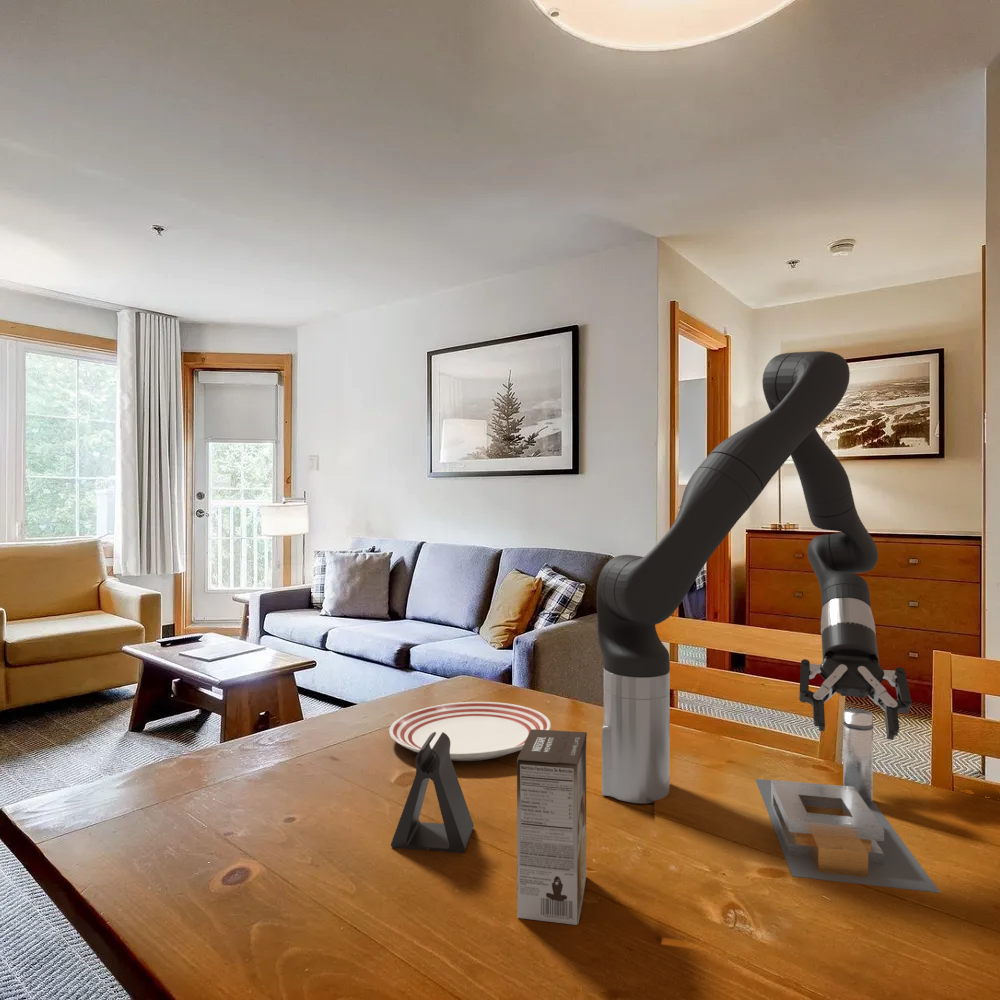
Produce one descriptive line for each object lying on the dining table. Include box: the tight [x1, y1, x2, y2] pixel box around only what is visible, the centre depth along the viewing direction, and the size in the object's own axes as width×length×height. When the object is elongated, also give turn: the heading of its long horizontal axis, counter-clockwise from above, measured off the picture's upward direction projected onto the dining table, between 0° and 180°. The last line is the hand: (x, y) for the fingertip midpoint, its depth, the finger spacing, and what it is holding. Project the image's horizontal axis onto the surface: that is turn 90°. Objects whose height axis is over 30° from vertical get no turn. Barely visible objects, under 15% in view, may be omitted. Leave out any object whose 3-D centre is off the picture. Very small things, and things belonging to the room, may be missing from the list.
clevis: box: [770, 779, 884, 877], centre depth 81 cm, size 10×14×4 cm
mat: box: [755, 778, 941, 894], centre depth 85 cm, size 14×26×1 cm, turn 168°
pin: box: [842, 707, 874, 806], centre depth 92 cm, size 4×4×12 cm
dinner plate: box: [388, 701, 552, 762], centre depth 116 cm, size 27×27×3 cm
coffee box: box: [516, 729, 588, 926], centre depth 71 cm, size 9×6×16 cm
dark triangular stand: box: [390, 732, 475, 854], centre depth 83 cm, size 9×6×12 cm, turn 82°
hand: (856, 732), depth 95 cm, fingers open, 8 cm apart
